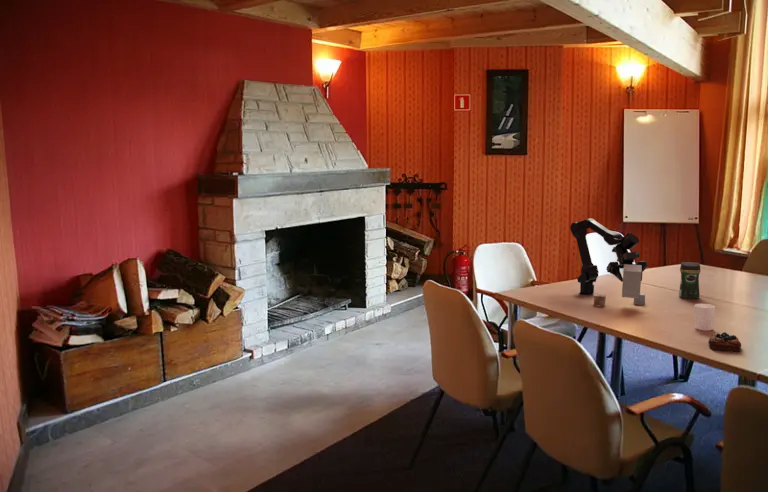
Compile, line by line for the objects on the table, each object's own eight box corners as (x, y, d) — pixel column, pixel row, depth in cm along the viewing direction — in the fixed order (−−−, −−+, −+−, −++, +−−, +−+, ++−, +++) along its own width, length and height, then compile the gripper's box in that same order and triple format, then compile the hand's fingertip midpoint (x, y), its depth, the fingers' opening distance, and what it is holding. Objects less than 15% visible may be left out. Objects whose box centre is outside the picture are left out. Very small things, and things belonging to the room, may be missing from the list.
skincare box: (639, 292, 308) (642, 264, 301) (639, 300, 302) (642, 271, 295) (621, 290, 311) (624, 262, 304) (620, 297, 305) (623, 270, 298)
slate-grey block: (633, 304, 313) (634, 294, 312) (634, 301, 318) (634, 292, 317) (644, 305, 311) (644, 295, 310) (644, 302, 316) (645, 293, 315)
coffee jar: (698, 296, 327) (700, 261, 324) (700, 299, 320) (702, 263, 317) (677, 295, 330) (679, 260, 327) (679, 298, 323) (681, 263, 320)
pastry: (710, 351, 239) (711, 336, 238) (706, 342, 250) (707, 328, 249) (743, 354, 235) (744, 339, 234) (738, 345, 246) (739, 330, 245)
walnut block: (593, 305, 311) (594, 295, 311) (594, 303, 316) (595, 293, 315) (604, 306, 309) (604, 296, 309) (605, 304, 314) (605, 294, 313)
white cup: (689, 326, 272) (690, 303, 270) (706, 325, 272) (708, 303, 271) (700, 331, 264) (701, 308, 263) (717, 330, 265) (719, 307, 263)
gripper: (609, 245, 306) (618, 272, 297) (647, 244, 307) (656, 271, 298) (602, 258, 315) (611, 285, 306) (638, 257, 316) (648, 284, 307)
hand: (631, 281), depth 304 cm, fingers closed on skincare box, 9 cm apart
